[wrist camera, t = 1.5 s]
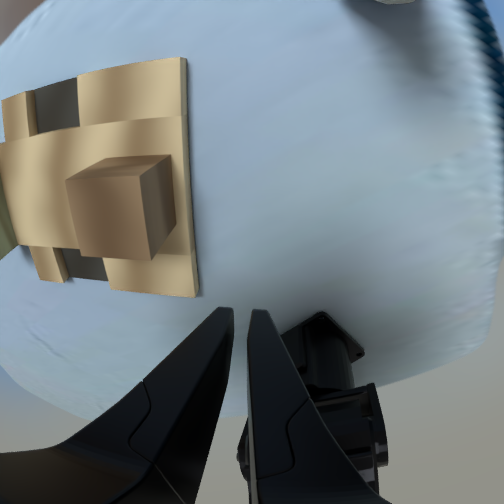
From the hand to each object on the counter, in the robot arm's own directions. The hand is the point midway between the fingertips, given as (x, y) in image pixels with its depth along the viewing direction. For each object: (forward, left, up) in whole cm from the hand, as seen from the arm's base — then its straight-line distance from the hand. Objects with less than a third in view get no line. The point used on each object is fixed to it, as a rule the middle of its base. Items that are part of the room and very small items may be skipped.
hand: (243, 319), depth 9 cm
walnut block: (+5, +6, -11) cm, 13 cm away
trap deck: (+10, +10, -12) cm, 18 cm away
